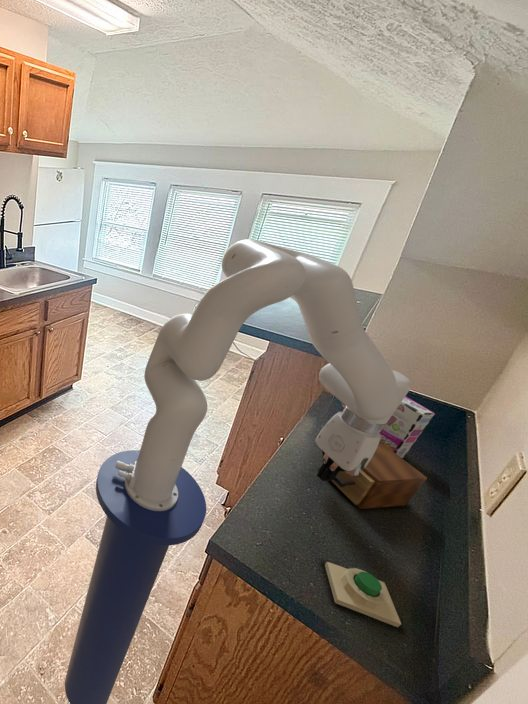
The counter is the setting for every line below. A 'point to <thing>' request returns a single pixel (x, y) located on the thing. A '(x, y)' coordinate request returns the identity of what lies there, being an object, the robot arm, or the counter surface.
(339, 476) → the drawer
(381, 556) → the counter surface
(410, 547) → the counter surface
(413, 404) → the candy bar box
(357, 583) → the button
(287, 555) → the counter surface
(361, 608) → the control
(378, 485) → the cabinet
